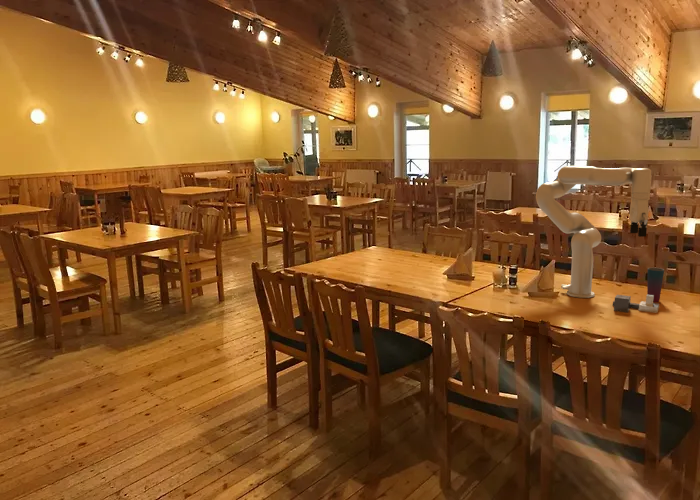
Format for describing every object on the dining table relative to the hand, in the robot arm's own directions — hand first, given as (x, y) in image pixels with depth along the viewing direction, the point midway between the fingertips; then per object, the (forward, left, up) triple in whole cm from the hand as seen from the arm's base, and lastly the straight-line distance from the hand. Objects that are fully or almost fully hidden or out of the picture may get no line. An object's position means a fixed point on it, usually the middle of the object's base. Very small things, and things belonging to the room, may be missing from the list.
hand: (638, 234), depth 263 cm
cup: (+7, +11, -32) cm, 35 cm away
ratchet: (+2, -6, -32) cm, 33 cm away
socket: (-3, -13, -32) cm, 35 cm away
